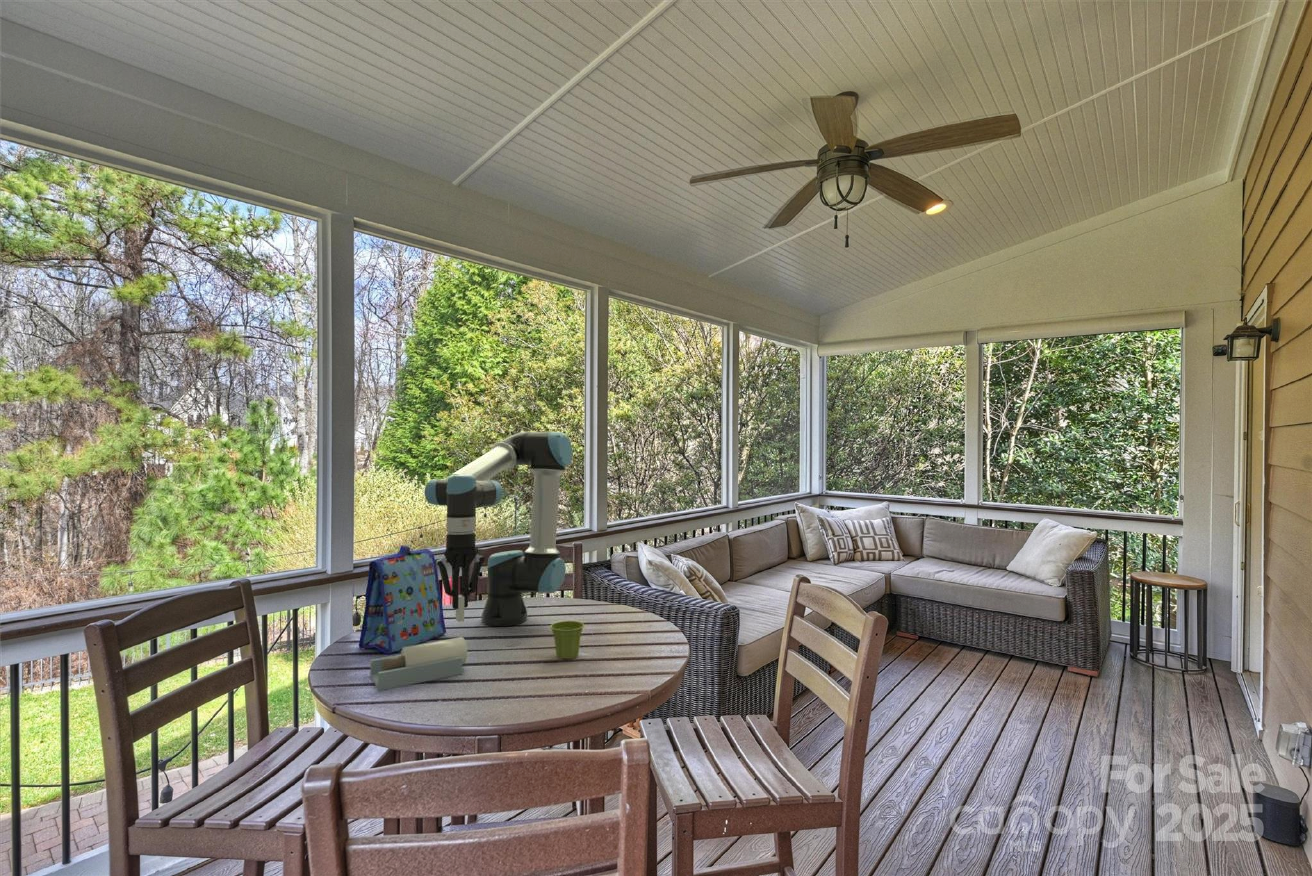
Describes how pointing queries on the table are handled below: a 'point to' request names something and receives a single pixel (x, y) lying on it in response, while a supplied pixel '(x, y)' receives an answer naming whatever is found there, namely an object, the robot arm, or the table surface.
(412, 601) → the lunch bag
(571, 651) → the plant pot
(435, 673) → the grey-green cradle
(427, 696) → the table surface
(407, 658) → the cream bottle
